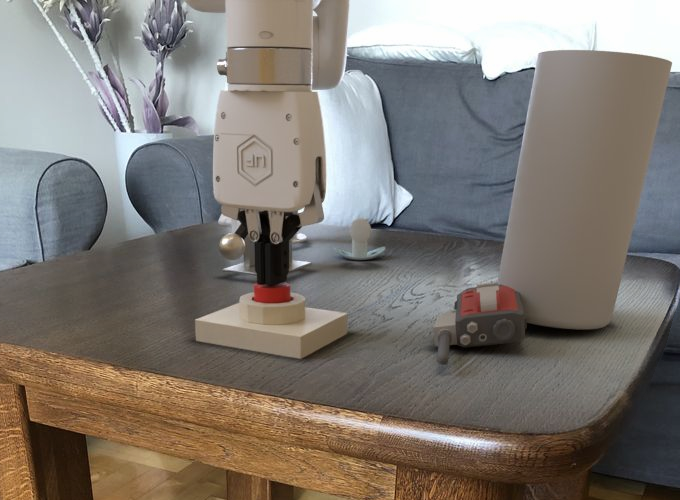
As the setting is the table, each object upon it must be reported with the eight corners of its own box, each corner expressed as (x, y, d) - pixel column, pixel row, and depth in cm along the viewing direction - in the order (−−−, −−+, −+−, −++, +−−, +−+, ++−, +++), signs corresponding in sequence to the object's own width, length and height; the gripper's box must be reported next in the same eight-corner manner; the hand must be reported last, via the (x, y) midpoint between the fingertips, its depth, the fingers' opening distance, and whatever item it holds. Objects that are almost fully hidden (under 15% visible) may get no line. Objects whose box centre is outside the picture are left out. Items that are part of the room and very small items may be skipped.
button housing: (195, 341, 82) (193, 301, 80) (248, 319, 90) (247, 282, 88) (300, 359, 77) (301, 317, 75) (347, 334, 85) (348, 295, 83)
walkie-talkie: (439, 317, 91) (431, 377, 73) (435, 277, 89) (426, 329, 71) (521, 307, 89) (532, 367, 71) (519, 266, 87) (530, 318, 69)
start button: (247, 303, 81) (247, 286, 80) (266, 296, 84) (265, 279, 83) (279, 308, 79) (278, 290, 79) (296, 300, 82) (296, 283, 81)
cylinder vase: (604, 337, 82) (671, 54, 72) (481, 317, 86) (528, 46, 76) (613, 318, 92) (672, 70, 82) (503, 301, 96) (547, 63, 86)
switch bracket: (275, 284, 105) (274, 187, 99) (222, 278, 108) (219, 182, 103) (311, 271, 113) (312, 179, 107) (261, 265, 116) (260, 176, 111)
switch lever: (241, 266, 101) (233, 246, 99) (219, 264, 103) (211, 243, 100) (285, 200, 107) (279, 179, 104) (264, 199, 108) (257, 177, 106)
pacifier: (387, 270, 114) (382, 261, 119) (389, 224, 111) (385, 216, 116) (334, 270, 114) (332, 260, 119) (335, 223, 111) (333, 215, 116)
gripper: (175, 72, 72) (187, 281, 81) (325, 72, 66) (321, 299, 75) (222, 73, 78) (229, 268, 87) (364, 74, 72) (356, 284, 80)
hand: (272, 282), depth 81 cm, fingers closed
